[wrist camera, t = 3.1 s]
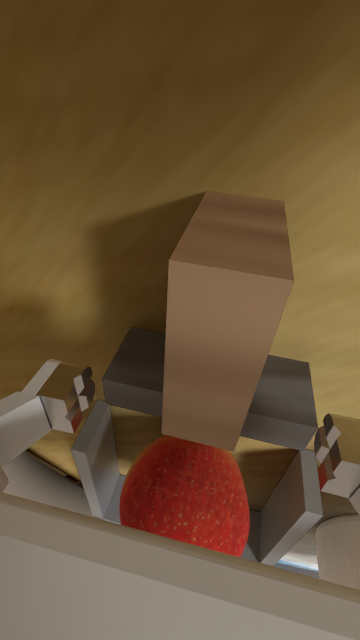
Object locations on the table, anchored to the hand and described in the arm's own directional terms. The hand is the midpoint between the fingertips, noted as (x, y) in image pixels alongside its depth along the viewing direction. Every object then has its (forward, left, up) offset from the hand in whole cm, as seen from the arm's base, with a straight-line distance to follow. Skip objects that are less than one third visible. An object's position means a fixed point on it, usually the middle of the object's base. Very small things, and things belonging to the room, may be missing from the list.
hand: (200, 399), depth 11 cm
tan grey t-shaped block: (-1, 0, -6) cm, 6 cm away
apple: (+13, 0, -6) cm, 14 cm away
